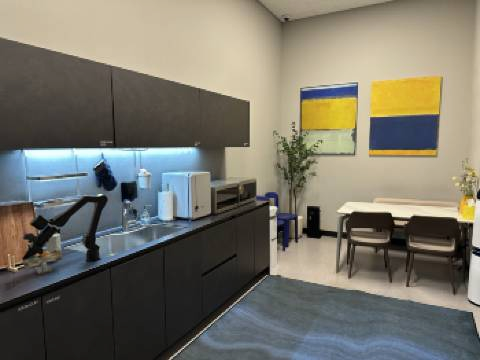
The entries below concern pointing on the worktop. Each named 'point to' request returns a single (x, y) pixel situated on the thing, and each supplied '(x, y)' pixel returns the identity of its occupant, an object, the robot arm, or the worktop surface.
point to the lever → (42, 258)
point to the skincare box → (53, 243)
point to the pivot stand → (44, 268)
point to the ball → (45, 253)
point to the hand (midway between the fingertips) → (22, 259)
